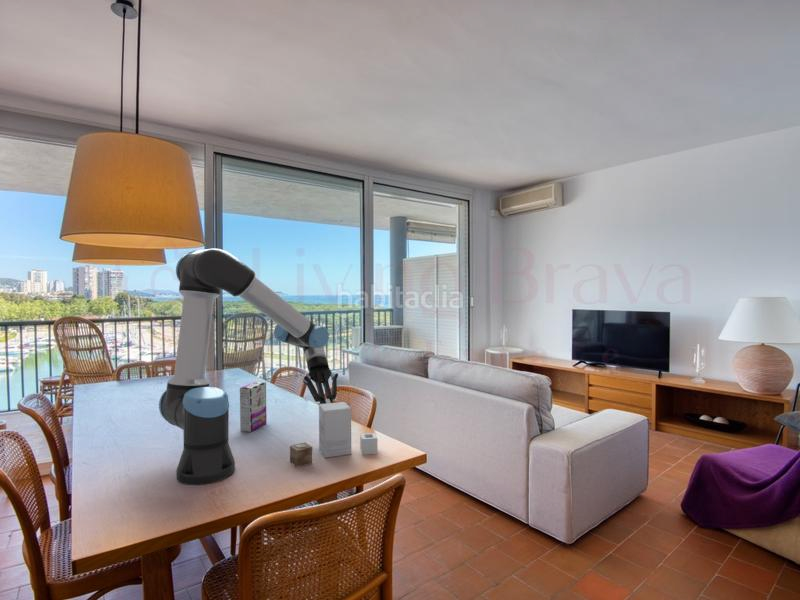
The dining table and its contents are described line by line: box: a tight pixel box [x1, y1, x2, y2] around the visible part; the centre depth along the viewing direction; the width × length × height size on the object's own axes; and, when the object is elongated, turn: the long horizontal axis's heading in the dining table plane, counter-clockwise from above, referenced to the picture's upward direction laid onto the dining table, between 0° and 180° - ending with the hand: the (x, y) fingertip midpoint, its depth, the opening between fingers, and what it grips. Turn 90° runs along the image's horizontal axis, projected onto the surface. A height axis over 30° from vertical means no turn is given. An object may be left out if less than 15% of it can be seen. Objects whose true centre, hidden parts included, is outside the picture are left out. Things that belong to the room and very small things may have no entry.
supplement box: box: [318, 401, 352, 459], centre depth 138 cm, size 9×9×15 cm
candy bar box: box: [239, 381, 267, 433], centre depth 162 cm, size 11×5×16 cm, turn 168°
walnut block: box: [289, 442, 313, 468], centre depth 129 cm, size 5×5×5 cm
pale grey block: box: [359, 432, 378, 455], centre depth 139 cm, size 5×5×5 cm
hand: (330, 417), depth 144 cm, fingers closed
